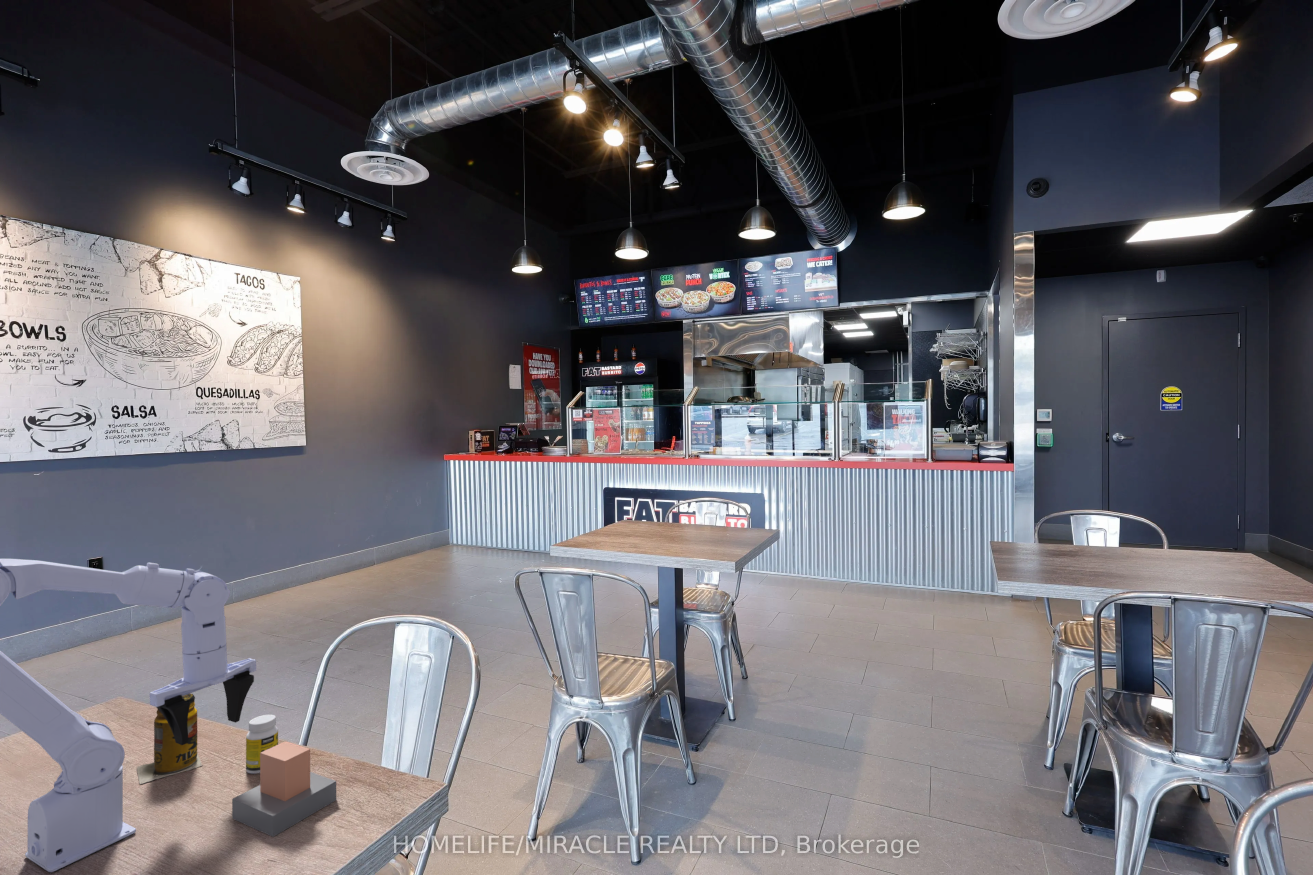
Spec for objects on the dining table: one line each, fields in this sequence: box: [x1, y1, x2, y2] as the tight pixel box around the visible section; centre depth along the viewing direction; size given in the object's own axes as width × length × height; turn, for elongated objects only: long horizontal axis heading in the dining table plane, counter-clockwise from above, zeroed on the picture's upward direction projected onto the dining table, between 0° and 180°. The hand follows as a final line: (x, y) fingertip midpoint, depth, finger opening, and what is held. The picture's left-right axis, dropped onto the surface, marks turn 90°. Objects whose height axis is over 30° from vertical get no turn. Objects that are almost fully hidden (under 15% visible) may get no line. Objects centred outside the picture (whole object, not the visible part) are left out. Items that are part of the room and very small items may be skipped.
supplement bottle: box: [245, 714, 279, 775], centre depth 106 cm, size 5×5×8 cm
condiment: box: [136, 693, 203, 785], centre depth 107 cm, size 7×8×12 cm
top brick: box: [259, 740, 311, 801], centre depth 94 cm, size 4×6×6 cm, turn 65°
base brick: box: [231, 771, 337, 837], centre depth 94 cm, size 10×10×3 cm
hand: (208, 731), depth 98 cm, fingers open, 7 cm apart
